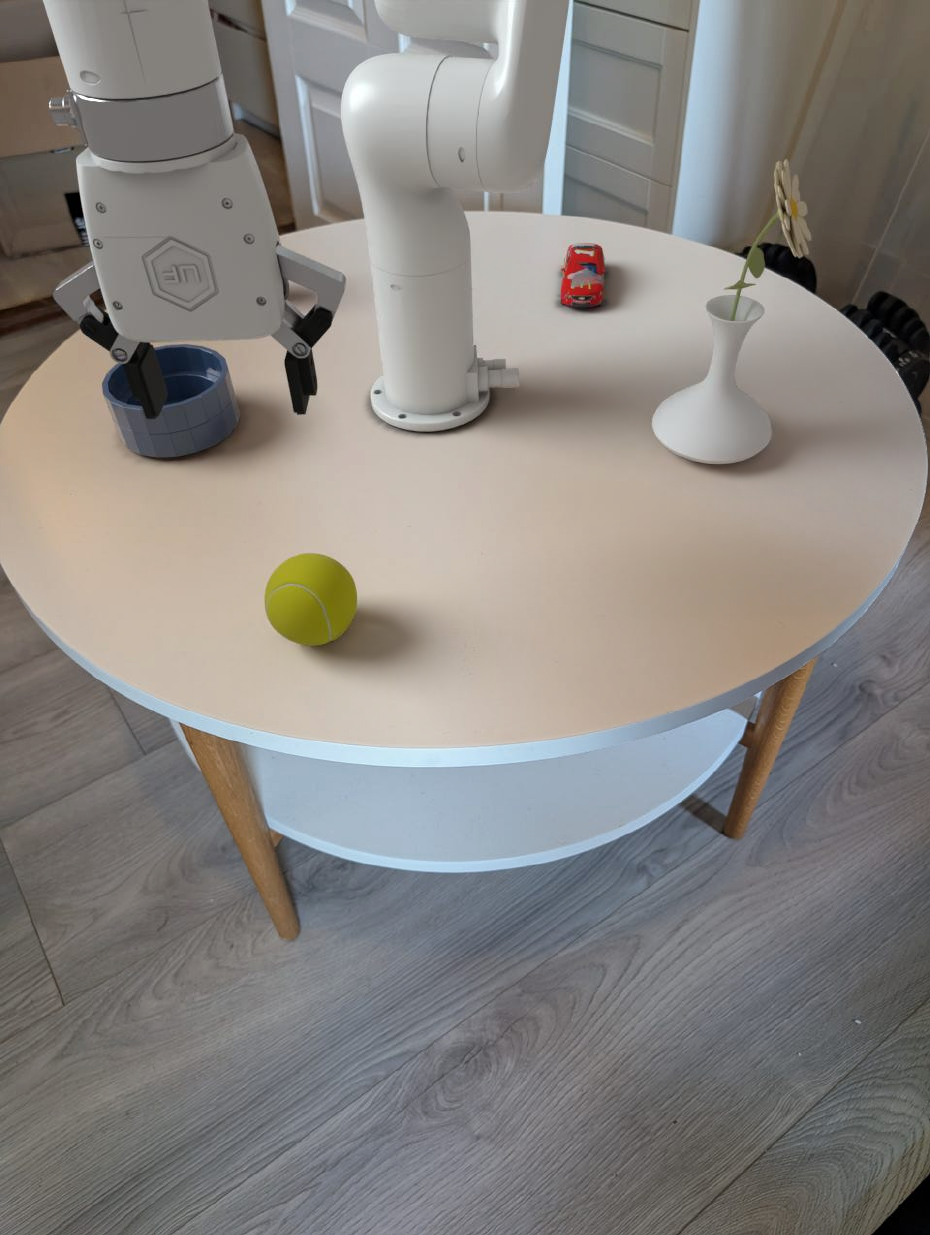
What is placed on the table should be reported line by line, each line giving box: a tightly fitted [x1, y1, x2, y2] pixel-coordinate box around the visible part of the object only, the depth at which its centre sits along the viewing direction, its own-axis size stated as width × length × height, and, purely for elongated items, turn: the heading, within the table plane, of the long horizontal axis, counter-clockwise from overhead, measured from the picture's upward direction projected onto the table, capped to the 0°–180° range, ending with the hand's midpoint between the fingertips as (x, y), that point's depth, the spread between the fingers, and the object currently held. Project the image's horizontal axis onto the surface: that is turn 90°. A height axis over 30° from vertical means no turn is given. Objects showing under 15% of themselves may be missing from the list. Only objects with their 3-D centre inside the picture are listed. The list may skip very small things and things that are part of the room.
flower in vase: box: [651, 158, 812, 465], centre depth 77 cm, size 13×11×25 cm
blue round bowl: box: [101, 343, 241, 459], centre depth 89 cm, size 12×12×6 cm
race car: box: [560, 242, 607, 308], centre depth 108 cm, size 13×5×4 cm, turn 171°
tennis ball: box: [264, 552, 358, 647], centre depth 68 cm, size 7×7×7 cm
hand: (230, 405), depth 58 cm, fingers open, 9 cm apart
